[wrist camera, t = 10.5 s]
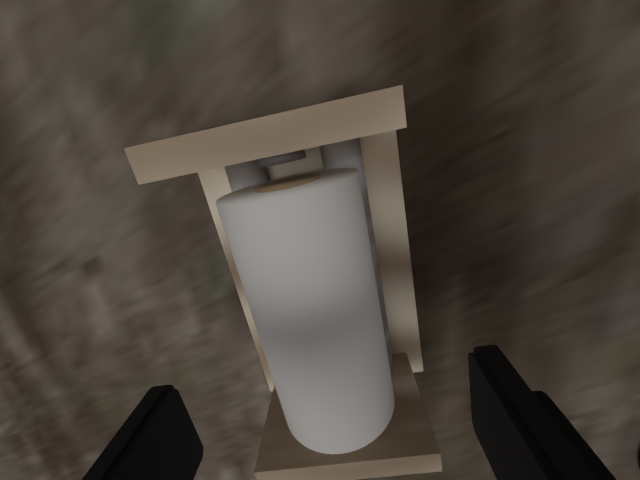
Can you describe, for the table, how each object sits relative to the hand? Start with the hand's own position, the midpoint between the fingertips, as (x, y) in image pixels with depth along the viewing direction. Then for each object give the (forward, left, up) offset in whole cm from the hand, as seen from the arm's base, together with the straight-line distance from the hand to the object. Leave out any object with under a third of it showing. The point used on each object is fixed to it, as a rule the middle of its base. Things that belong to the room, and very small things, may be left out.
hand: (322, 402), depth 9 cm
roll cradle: (0, 0, -11) cm, 11 cm away
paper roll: (0, 0, -8) cm, 8 cm away
